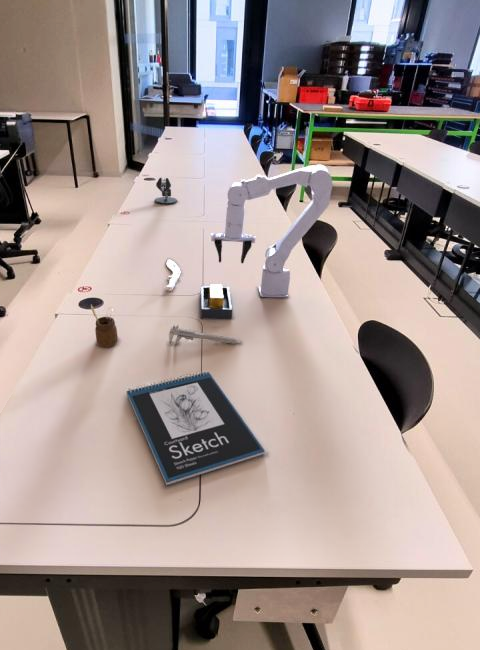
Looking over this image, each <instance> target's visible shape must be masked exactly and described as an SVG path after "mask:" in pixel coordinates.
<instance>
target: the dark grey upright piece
mask: <svg viewBox="0 0 480 650" xmlns="http://www.w3.org/2000/svg"><path fill="white" fill-rule="evenodd" d="M155 187H156V188H157V189H158V190H159V191H160V193H161V197H157V198H156V197H155V198H154V203H156V204H158V205H165V206H168V205H175V204H176V203H178V199H177V198H175V197H171V196H172V189H171V187H172V183H171V181H170V179H169V178H168V177H165V178H164V179H163V178H162V176H161V177H159V178H158V180H157V181H156V184H155Z"/></svg>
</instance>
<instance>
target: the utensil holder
mask: <svg viewBox="0 0 480 650" xmlns="http://www.w3.org/2000/svg"><path fill="white" fill-rule="evenodd" d="M90 309H91V311H92V314H93V316H94V317H95V327H94V328H95V329H94V330H95V339H96V343H97V345H98V346H100V347H103V348H111V347H114V346H115V345H116V344H117V343H118V340H119V337H118V328H117V326H116V321H115V316H112V313H110V315H109V316H108V312H106V313H105V315H106V316H101V317H97V313H96V310H95V309H94V306H93V304H90ZM111 310H112V312H115V308H114V307H109V308H108V309H106V311H111Z"/></svg>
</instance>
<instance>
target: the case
mask: <svg viewBox="0 0 480 650" xmlns="http://www.w3.org/2000/svg"><path fill="white" fill-rule="evenodd" d="M222 290H223V298H224V299H223V308H209V300H208V294H209V286H208V285H206V286H205V285H204V286H203V285H201V286H200V315H201V316H200V317H201V319H214V320H215V319H216V320H217V319H219V320H220V319H222V320H223V319H224V320H232V318H233V306H232V299H231V292H230V287H229V286H222Z"/></svg>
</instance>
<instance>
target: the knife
mask: <svg viewBox="0 0 480 650" xmlns="http://www.w3.org/2000/svg"><path fill="white" fill-rule="evenodd" d="M165 265H166V267H167V268H168V269H169V270H170V271H171V272H172V274H171V275H168V276H167V280H168V285H165V286H164V288H163V289H164V290H165V291H167V292H172V291H173V290H174V288H175V286H176V284H177V282H178V280H179V277H180V276H181V274H182V273H181V269H180V267H179V266H178V264H177V263H176V262H175V261H173V260H172V259H170V258H169V259H167V261H166V263H165Z"/></svg>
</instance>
